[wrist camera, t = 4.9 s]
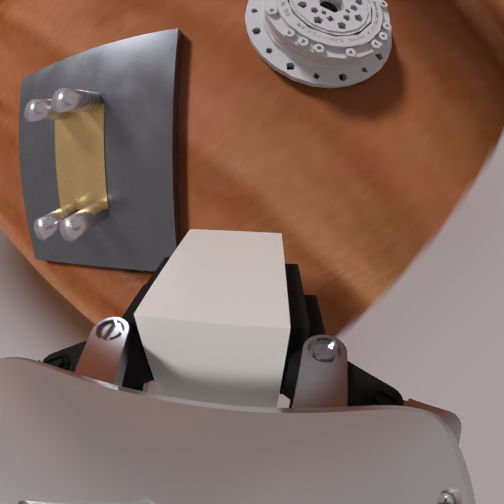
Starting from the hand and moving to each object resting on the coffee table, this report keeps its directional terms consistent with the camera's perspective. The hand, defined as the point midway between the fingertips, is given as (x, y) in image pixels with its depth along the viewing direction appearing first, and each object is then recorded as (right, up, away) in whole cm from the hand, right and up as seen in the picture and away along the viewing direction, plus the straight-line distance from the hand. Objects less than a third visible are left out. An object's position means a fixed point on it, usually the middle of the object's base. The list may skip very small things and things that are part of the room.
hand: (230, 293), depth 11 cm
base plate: (-12, +9, +6) cm, 17 cm away
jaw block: (0, 0, +2) cm, 2 cm away
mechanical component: (+6, +17, +2) cm, 18 cm away
